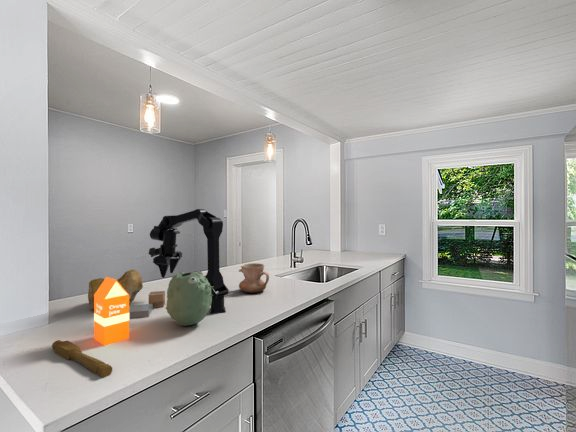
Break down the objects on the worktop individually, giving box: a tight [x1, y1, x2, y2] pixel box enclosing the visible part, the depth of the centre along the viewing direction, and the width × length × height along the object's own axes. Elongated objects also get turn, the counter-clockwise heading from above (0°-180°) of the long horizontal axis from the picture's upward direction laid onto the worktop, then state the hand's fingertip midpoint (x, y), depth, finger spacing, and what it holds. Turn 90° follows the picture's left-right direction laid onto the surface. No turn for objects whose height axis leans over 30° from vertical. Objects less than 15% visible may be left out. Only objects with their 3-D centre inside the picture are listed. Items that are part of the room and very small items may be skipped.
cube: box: [148, 290, 166, 309], centre depth 137 cm, size 6×6×6 cm
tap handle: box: [51, 339, 113, 378], centre depth 86 cm, size 3×3×30 cm
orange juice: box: [93, 276, 130, 347], centre depth 101 cm, size 8×9×20 cm
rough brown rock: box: [87, 269, 144, 311], centre depth 140 cm, size 23×17×15 cm
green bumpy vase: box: [165, 270, 213, 327], centre depth 114 cm, size 16×19×20 cm
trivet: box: [129, 303, 154, 319], centre depth 126 cm, size 10×10×2 cm
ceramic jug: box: [238, 262, 270, 294], centre depth 164 cm, size 18×14×14 cm
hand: (167, 275), depth 144 cm, fingers open, 9 cm apart
